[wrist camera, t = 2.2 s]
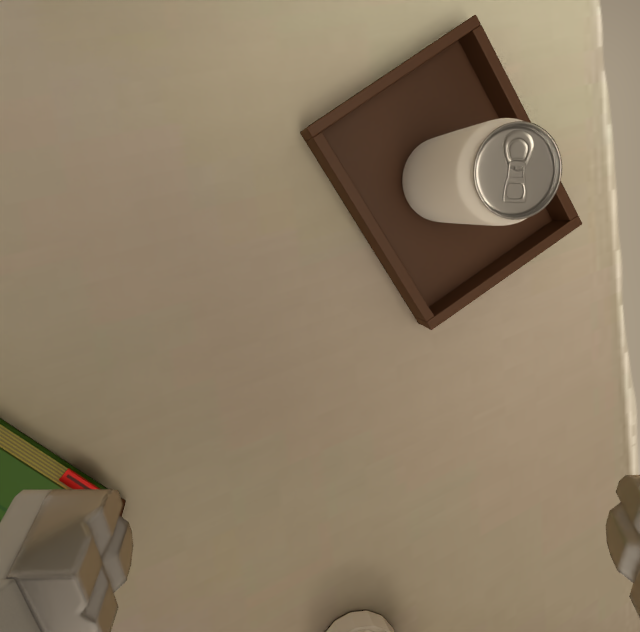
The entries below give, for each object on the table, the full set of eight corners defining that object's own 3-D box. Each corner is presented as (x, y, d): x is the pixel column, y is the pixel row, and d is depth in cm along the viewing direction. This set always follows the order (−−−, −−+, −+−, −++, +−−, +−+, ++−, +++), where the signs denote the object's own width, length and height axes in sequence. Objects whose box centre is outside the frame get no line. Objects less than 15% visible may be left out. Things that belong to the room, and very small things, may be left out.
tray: (299, 132, 44) (306, 127, 42) (459, 25, 45) (476, 13, 42) (418, 323, 49) (431, 330, 46) (562, 222, 50) (582, 223, 47)
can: (481, 138, 47) (574, 116, 35) (475, 223, 48) (563, 228, 36) (402, 134, 45) (470, 110, 34) (398, 221, 47) (463, 225, 35)
